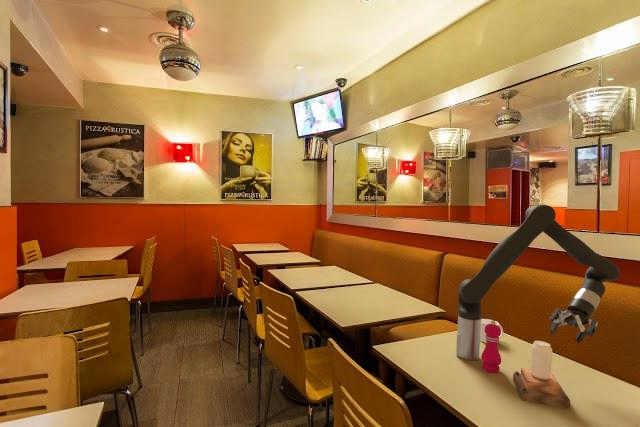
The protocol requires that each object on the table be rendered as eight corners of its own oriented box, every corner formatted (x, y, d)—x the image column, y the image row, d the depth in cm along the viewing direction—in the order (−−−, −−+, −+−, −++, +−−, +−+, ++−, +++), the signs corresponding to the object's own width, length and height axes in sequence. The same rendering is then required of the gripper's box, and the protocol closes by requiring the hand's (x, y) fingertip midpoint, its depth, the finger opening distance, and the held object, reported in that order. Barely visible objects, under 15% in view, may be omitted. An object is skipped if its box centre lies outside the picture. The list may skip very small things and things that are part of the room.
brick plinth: (520, 399, 117) (521, 382, 117) (513, 380, 130) (513, 364, 130) (569, 409, 112) (570, 391, 112) (556, 388, 126) (557, 372, 125)
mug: (480, 343, 165) (481, 324, 165) (475, 336, 174) (476, 318, 174) (507, 345, 164) (508, 326, 163) (500, 338, 173) (501, 320, 172)
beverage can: (528, 376, 121) (529, 342, 121) (531, 370, 126) (533, 338, 125) (548, 383, 117) (550, 348, 117) (552, 376, 122) (554, 343, 121)
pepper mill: (499, 367, 141) (501, 319, 140) (502, 375, 134) (505, 324, 133) (479, 364, 143) (482, 316, 142) (481, 371, 136) (484, 321, 136)
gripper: (560, 292, 136) (540, 324, 131) (602, 302, 123) (581, 338, 119) (567, 304, 138) (547, 336, 134) (609, 316, 126) (589, 351, 121)
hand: (563, 337), depth 126 cm, fingers open, 8 cm apart
